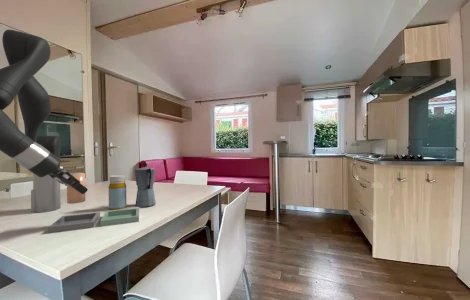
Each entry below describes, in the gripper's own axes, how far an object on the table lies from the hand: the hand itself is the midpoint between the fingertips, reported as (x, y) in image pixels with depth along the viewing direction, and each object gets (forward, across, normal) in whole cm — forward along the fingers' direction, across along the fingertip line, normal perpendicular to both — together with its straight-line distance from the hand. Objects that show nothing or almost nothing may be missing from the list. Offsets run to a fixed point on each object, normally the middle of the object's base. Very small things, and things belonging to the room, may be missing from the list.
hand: (82, 190), depth 77 cm
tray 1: (+7, 0, +10) cm, 12 cm away
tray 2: (+16, -8, +1) cm, 18 cm away
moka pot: (+29, +4, -11) cm, 31 cm away
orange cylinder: (+1, 0, +4) cm, 4 cm away
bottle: (+21, +9, -3) cm, 23 cm away
